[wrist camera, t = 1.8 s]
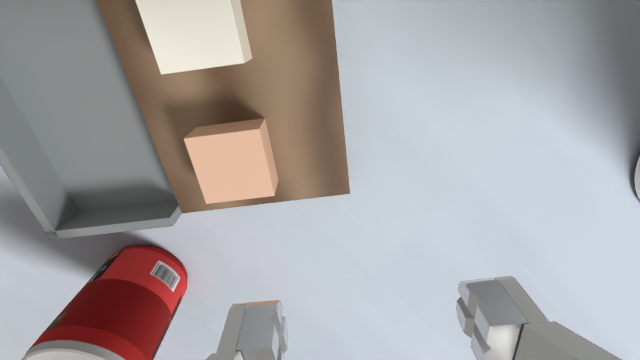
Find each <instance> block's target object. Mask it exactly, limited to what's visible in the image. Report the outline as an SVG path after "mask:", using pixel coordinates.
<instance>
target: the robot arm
mask: <svg viewBox="0 0 640 360" xmlns="http://www.w3.org/2000/svg"><path fill="white" fill-rule="evenodd" d="M635 189H636V193H637V196H638V198H639V199H640V156H639V159H638V162H637V166H636V170H635ZM458 291H459V293H460V295H461V297H460V298H459V299H458V300H457V306H456V310H457V316H458V320H459V323H460V325H461V328H462V330H463V332H464V333H465V334H466V335H468V336H469V337H470V338H472V340H471V348H472V350H473V353H474V355H475V357H476V359H477V360H622V359H620V358H618V357H616V356H615V355H613V354H611V353H609V352H608V351H606V350H604V349H602V348H601V347H599V346H597V345H596V344H594V343H592V342H590V341H589V340H587V339H585V338H583V337H582V336H580V335H578V334H576V333H575V332H573V331H571V330H569V329H568V328H566V327H564V326H562V325H561V324H559V323H557V322H556V321H552V322H550V321H549V320H548V319H547V318H546V316H545V315H544V314H543V313H542V311H541V310H540V309H539V308H538V306H537V305H536V304H535V303H534V301H533V300H532V299H531V298H530V296H529V295H528V294H527V293H526V291H525V290H524V289H523V288H522V286H521V285H520V284H519V283H518V281H517V280H516V279H515V278H514V277H512V276H507V277H497V278H486V279H478V280H469V281H461V282H460V283H459V287H458ZM282 310H283V307H282V304H281V301H280V300H276V301H263V302H249V303H239V304H233V305H232V306H231V308H230V310H229V313H228V316H227V320H226V323H225V326H224V330H223V333H222V336H221V340H220V343H219V346H218V350H217V353H214V354H211V355H210V356H209V357H208V358H207V359H206V360H285V359H284V355H283V354H284V353H285V351H286V350H287V342H288V333H287V323H286V319H285V317H284V316H282Z"/></svg>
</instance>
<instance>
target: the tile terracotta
mask: <svg viewBox="0 0 640 360" xmlns="http://www.w3.org/2000/svg"><path fill="white" fill-rule="evenodd" d="M184 141H185V144H186V147H187V150H188V153H189V156H190V159H191V161H192V164H193V167H194V170H195V173H196V176H197V179H198V181H199V184H200V187H201V190H202V193H203V196H204V199H205V202H206V204H210V203H219V202H227V201H236V200H244V199H252V198H261V197H269V196H275V192H276V188H277V183H278V176H277V172H276V167H275V162H274V157H273V153H272V148H271V143H270V139H269V134H268V129H267V125H266V120H265V118H262V119H254V120H246V121H239V122H231V123H223V124H216V125H208V126H200V127H196V128H195V129H194V130H193V131H192V132H191V133H189V134H188V135H187V136H186V137H185V138H184Z"/></svg>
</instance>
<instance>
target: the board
mask: <svg viewBox="0 0 640 360" xmlns="http://www.w3.org/2000/svg"><path fill="white" fill-rule="evenodd" d="M97 2H98V4H99V7H100V9H101V12H102V14H103V17H104V19H105V22H106V24H107V27H108V29H109V32H110V34H111V37H112V39H113V42H114V44H115V47H116V50H117V52H118V55H119V57H120V60H121V62H122V65H123V67H124V70H125V72H126V75H127V77H128V80H129V82H130V85H131V87H132V90H133V92H134V95H135V97H136V100H137V102H138V105H139V107H140V110H141V112H142V115H143V117H144V120H145V122H146V125H147V127H148V130H149V132H150V135H151V137H152V140H153V142H154V145H155V147H156V150H157V152H158V155H159V157H160V160H161V162H162V165H163V167H164V170H165V172H166V175H167V177H168V180H169V182H170V185H171V187H172V190H173V192H174V195H175V197H176V200H177V203H178V205H179V208H180V210H181V213H188V212H197V211H205V210H214V209H223V208H231V207H240V206H248V205H257V204H265V203H274V202H283V201H291V200H300V199H308V198H317V197H325V196H334V195H342V194H350V189H349V178H348V168H347V157H346V146H345V136H344V125H343V115H342V104H341V93H340V83H339V72H338V62H337V51H336V40H335V30H334V19H333V8H332V0H240V3H241V7H242V12H243V17H244V21H245V26H246V31H247V35H248V40H249V45H250V50H251V54H252V59H251V60H249V61H247V62H246V63H241V64H234V65H227V66H220V67H212V68H205V69H198V70H191V71H183V72H176V73H169V74H162V75H161V73H160V70H159V67H158V64H157V61H156V58H155V55H154V52H153V50H152V47H151V44H150V41H149V38H148V35H147V32H146V30H145V27H144V24H143V21H142V18H141V15H140V12H139V10H138V7H137V4H136V1H135V0H97ZM262 118H265V120H266V125H267V129H268V134H269V139H270V143H271V148H272V153H273V157H274V162H275V167H276V172H277V176H278V183H277V188H276V192H275V196H269V197H261V198H252V199H244V200H236V201H227V202H219V203H210V204H206V202H205V199H204V196H203V193H202V190H201V187H200V184H199V181H198V179H197V176H196V173H195V170H194V167H193V164H192V161H191V159H190V156H189V153H188V150H187V147H186V144H185V141H184V138H185V137H186V136H187V135H188V134H189V133H191V132H192V131H193V130H194V129H195V128H196V127H200V126H208V125H216V124H223V123H231V122H239V121H246V120H254V119H262Z"/></svg>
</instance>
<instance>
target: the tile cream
mask: <svg viewBox="0 0 640 360" xmlns="http://www.w3.org/2000/svg"><path fill="white" fill-rule="evenodd" d="M135 1H136V4H137V7H138V10H139V12H140V15H141V18H142V21H143V24H144V27H145V30H146V32H147V35H148V38H149V41H150V44H151V47H152V50H153V52H154V55H155V58H156V61H157V64H158V67H159V70H160V73H161V75H162V74H169V73H176V72H183V71H191V70H198V69H205V68H212V67H220V66H227V65H234V64H241V63H246V62H247V61H249V60H251V59H252V54H251V50H250V45H249V40H248V35H247V31H246V26H245V21H244V17H243V12H242V7H241V3H240V0H135Z"/></svg>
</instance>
